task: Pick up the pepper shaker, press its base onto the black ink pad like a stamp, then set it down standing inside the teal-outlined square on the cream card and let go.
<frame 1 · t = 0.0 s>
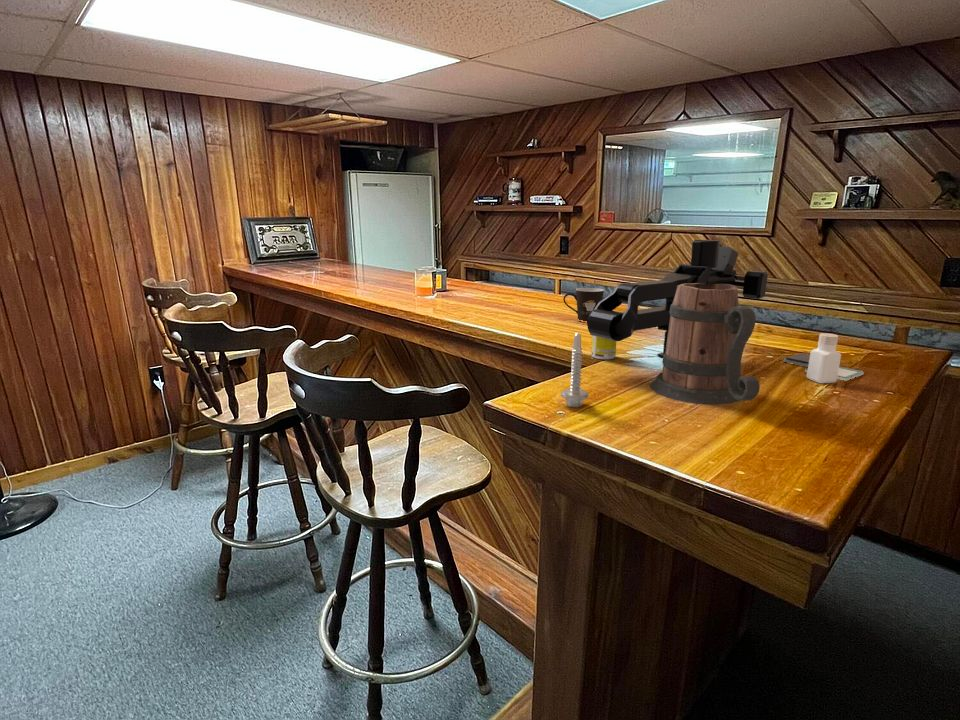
hand: (744, 279, 135), 17 cm above the table, tool horizontal, fingers open, 9 cm apart
ink pad: (807, 363, 120), on the table
pepper shaker: (820, 381, 107), on the table
supplement bottle: (603, 358, 125), on the table
print card: (833, 373, 112), on the table
coffee mug: (583, 321, 169), on the table
tankard: (705, 396, 99), on the table
screw: (574, 406, 93), on the table
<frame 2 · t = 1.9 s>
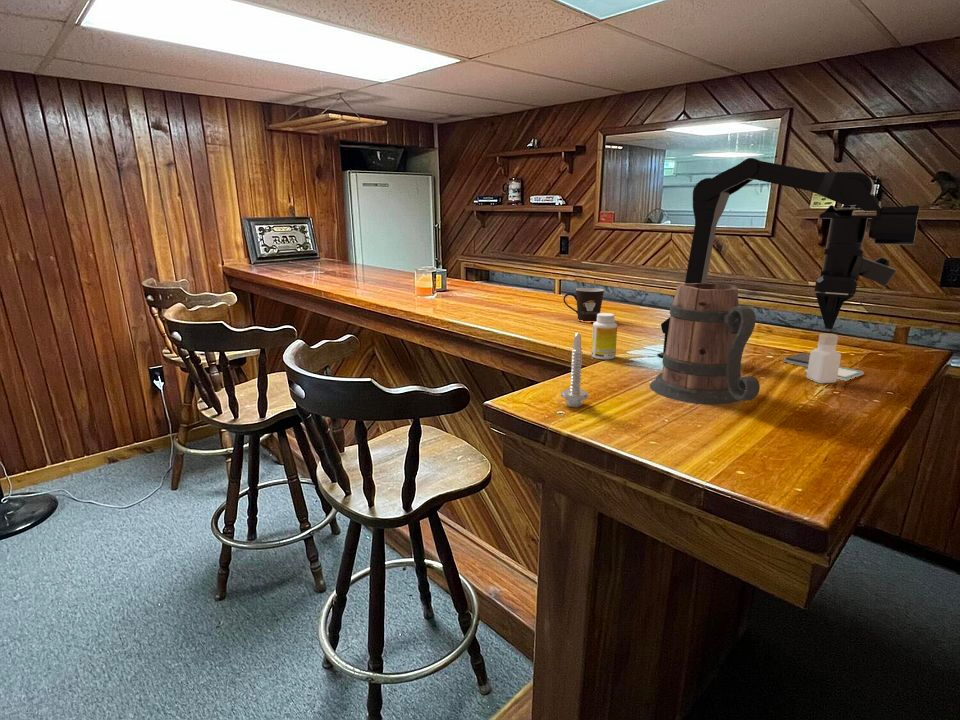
hand: (830, 324, 104), 11 cm above the table, tool pointing down, fingers open, 9 cm apart
nothing on the table moved.
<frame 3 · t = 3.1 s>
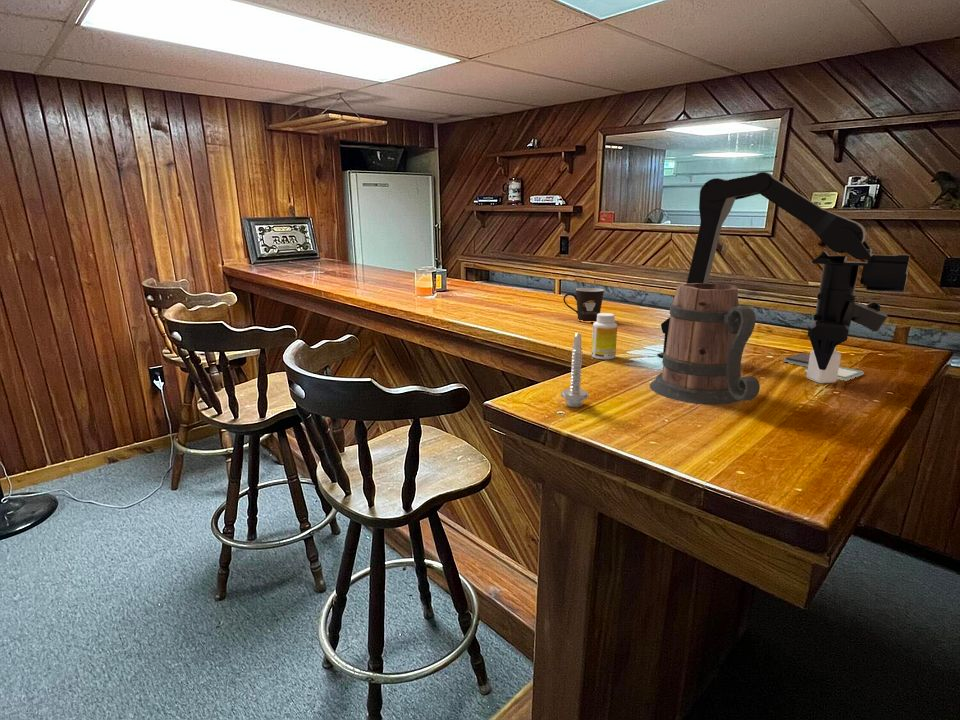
hand: (823, 366, 106), 3 cm above the table, tool pointing down, fingers closed on pepper shaker, 5 cm apart
pepper shaker: (820, 381, 107), on the table, touching gripper
everything else where it was.
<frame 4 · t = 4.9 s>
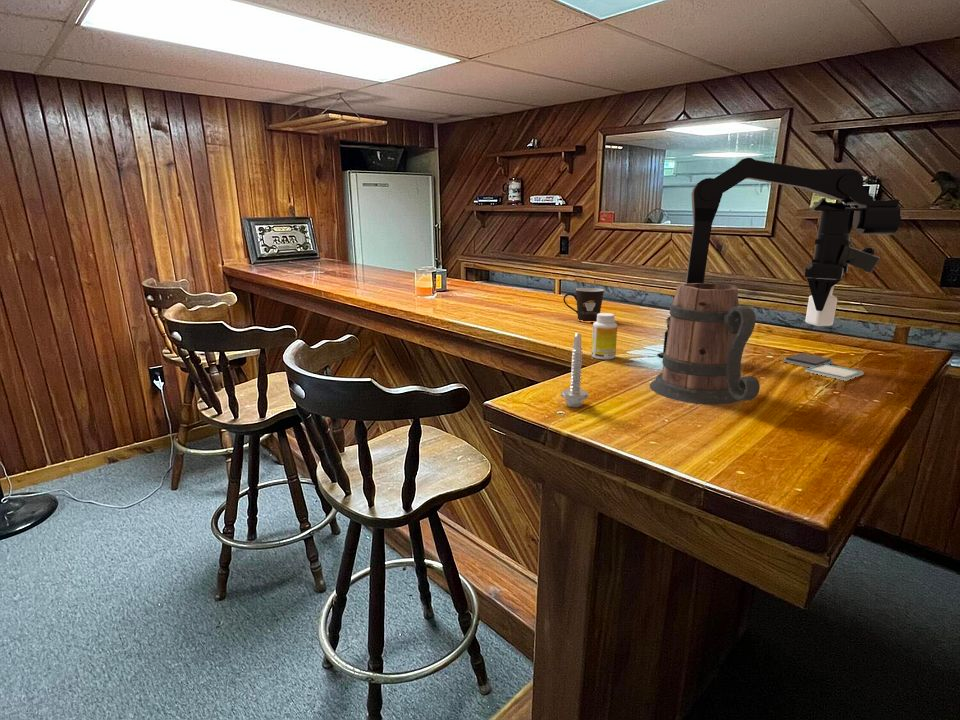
hand: (820, 309, 114), 13 cm above the table, tool pointing down, fingers closed on pepper shaker, 5 cm apart
pepper shaker: (818, 325, 114), point 9 cm above the table, touching gripper
everything else where it was.
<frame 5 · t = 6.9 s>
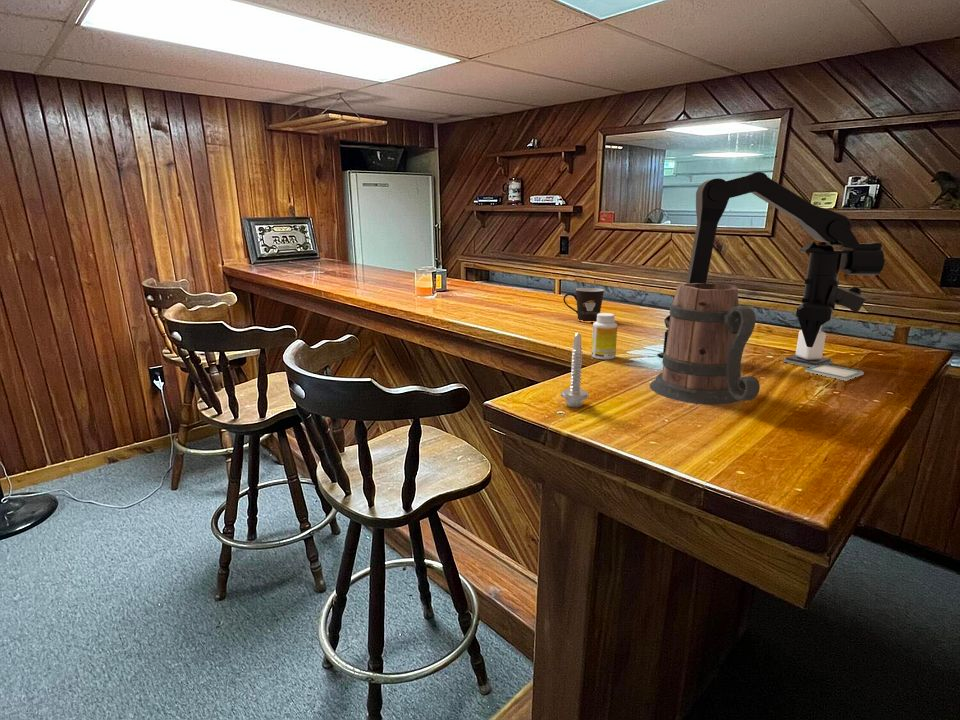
hand: (810, 344, 119), 4 cm above the table, tool pointing down, fingers closed on pepper shaker, 5 cm apart
pepper shaker: (808, 358, 120), point 1 cm above the table, touching gripper, ink pad
everything else where it was.
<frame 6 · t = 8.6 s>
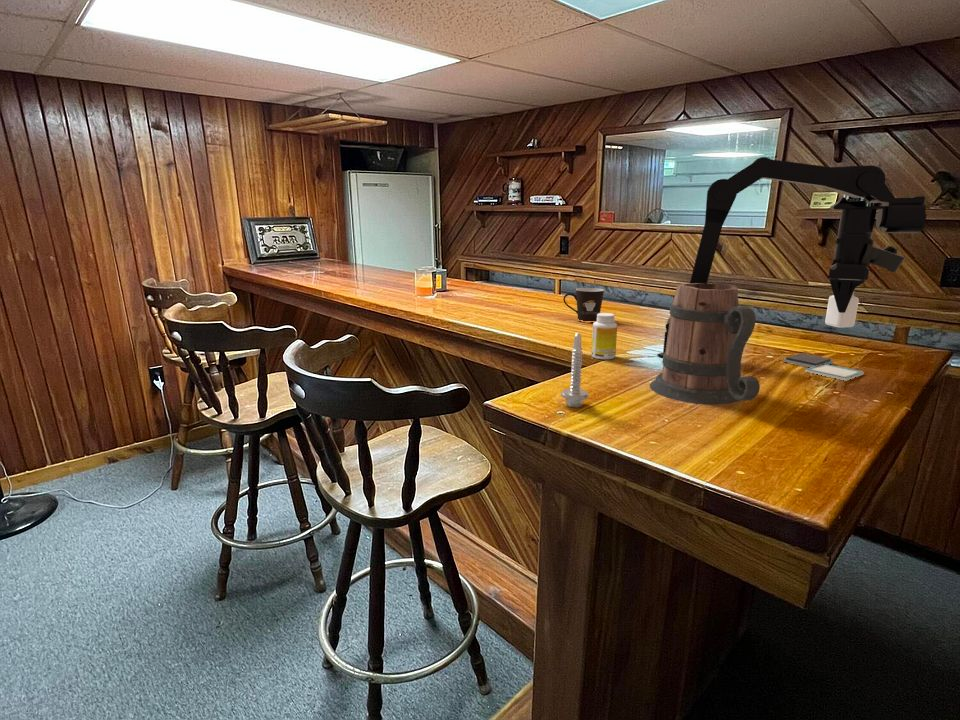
hand: (841, 310, 110), 13 cm above the table, tool pointing down, fingers closed on pepper shaker, 5 cm apart
pepper shaker: (839, 327, 111), point 10 cm above the table, touching gripper
everything else where it was.
when the fingers open (4 cm above the table, at t = 10.7 s): pepper shaker stays where it is, resting on print card.
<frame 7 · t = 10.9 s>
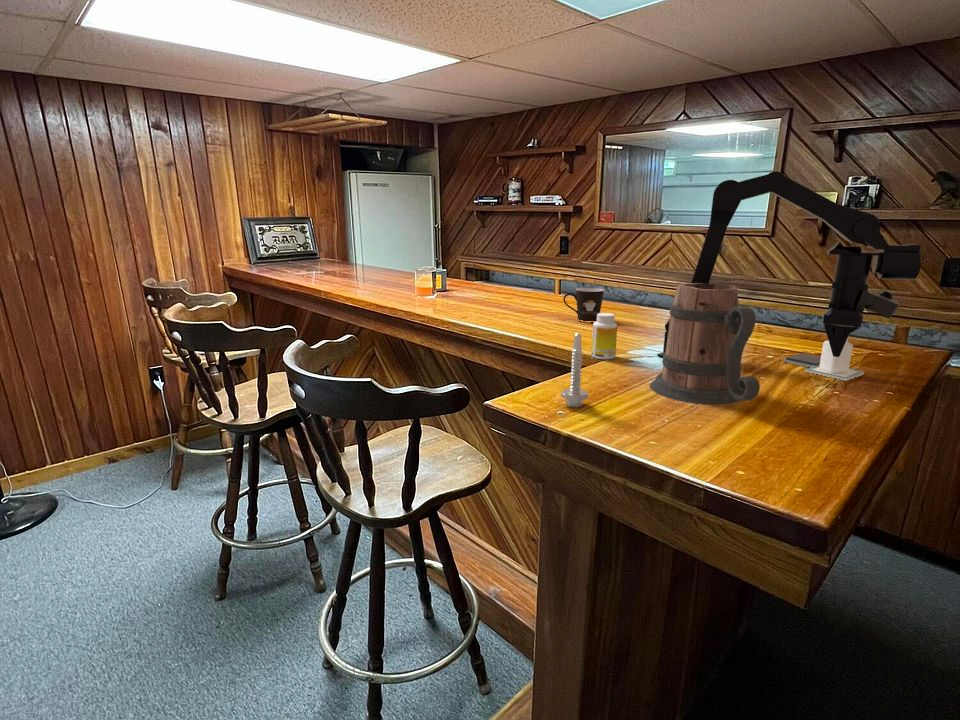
hand: (837, 352, 111), 4 cm above the table, tool pointing down, fingers open, 8 cm apart
pepper shaker: (833, 371, 112), resting on print card
everything else where it was.
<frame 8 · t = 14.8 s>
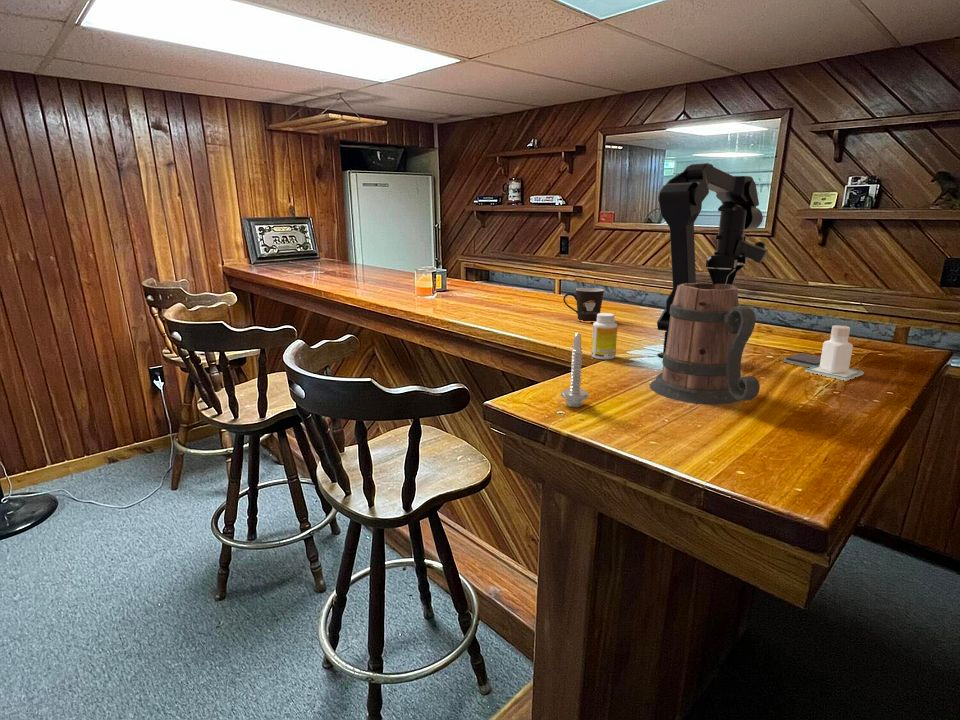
hand: (723, 294, 134), 13 cm above the table, tool pointing down, fingers open, 9 cm apart
nothing on the table moved.
at the end: pepper shaker 0.1 cm off-centre on the print card, point 0.3 cm above the print card's base; pepper shaker tilted 0°; the gripper is holding nothing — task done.
